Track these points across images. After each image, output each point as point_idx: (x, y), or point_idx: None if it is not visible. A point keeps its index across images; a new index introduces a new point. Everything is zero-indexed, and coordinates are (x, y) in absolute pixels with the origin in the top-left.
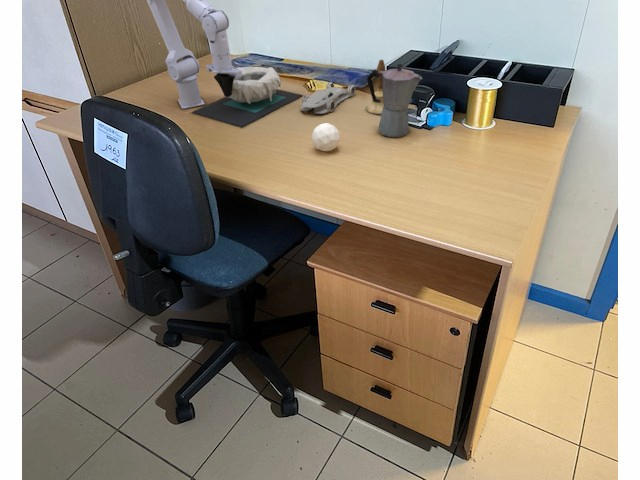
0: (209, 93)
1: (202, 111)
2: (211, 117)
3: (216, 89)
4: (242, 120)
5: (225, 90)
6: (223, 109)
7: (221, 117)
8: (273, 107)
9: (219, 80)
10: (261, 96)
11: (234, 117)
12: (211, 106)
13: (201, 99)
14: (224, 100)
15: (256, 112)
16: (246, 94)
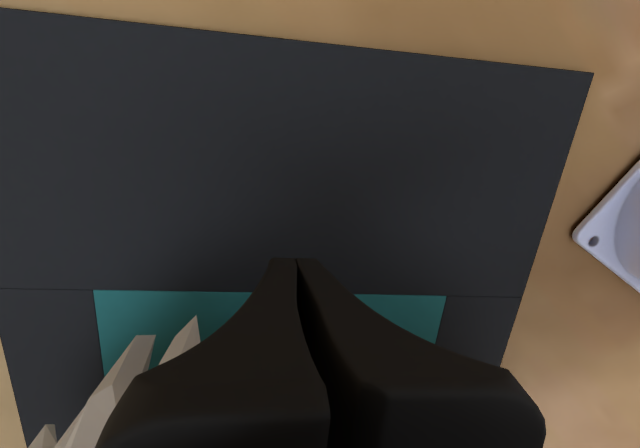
0: (630, 378)
1: (513, 120)
2: (359, 48)
3: (616, 431)
4: (45, 120)
5: (265, 285)
6: (373, 226)
7: (273, 89)
8: (53, 407)
9: (344, 360)
10: (34, 441)
11: (167, 141)
12: (497, 227)
13: (633, 281)
14: (467, 341)
15: (87, 296)
16: (100, 385)
